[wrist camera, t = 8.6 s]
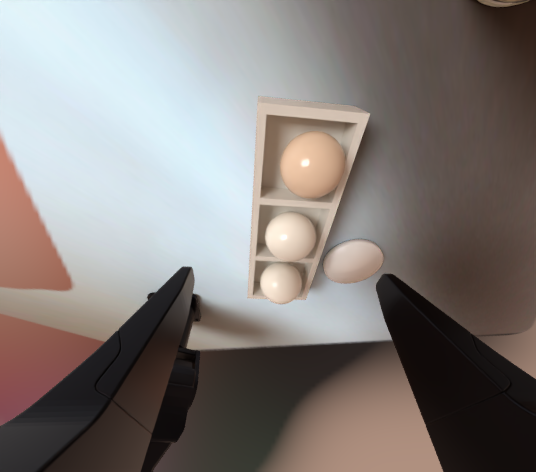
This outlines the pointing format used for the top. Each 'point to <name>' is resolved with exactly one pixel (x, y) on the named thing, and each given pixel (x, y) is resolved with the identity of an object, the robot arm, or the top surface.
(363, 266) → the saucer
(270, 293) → the cream egg
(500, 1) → the coffee can
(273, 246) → the cream egg
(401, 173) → the top surface
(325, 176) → the brown egg
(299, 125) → the carton
